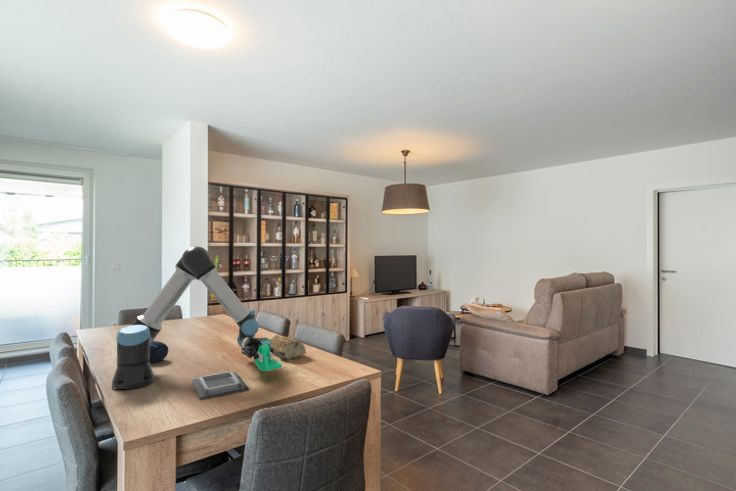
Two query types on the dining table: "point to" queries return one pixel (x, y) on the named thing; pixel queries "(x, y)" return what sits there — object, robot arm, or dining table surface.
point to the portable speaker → (158, 351)
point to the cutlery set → (265, 341)
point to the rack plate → (218, 384)
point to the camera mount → (266, 360)
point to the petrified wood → (287, 347)
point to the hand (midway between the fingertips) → (267, 357)
